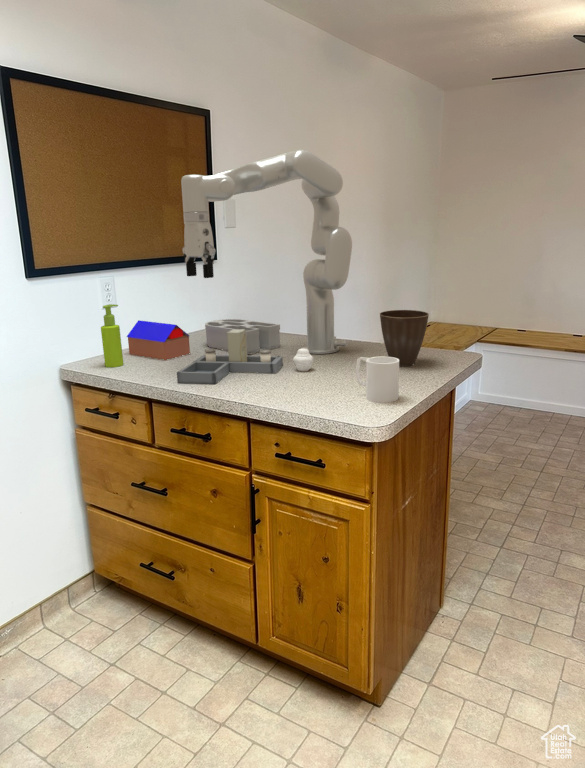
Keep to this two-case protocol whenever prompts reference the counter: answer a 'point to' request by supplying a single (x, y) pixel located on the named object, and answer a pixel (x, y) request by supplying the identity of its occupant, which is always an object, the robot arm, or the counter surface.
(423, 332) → the plant pot
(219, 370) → the tray
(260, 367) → the grey rectangular frame
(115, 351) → the soap dispenser
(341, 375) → the counter surface
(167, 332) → the house
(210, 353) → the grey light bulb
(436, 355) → the counter surface
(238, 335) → the skincare box
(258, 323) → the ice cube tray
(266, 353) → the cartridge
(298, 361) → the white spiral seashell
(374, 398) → the cup
